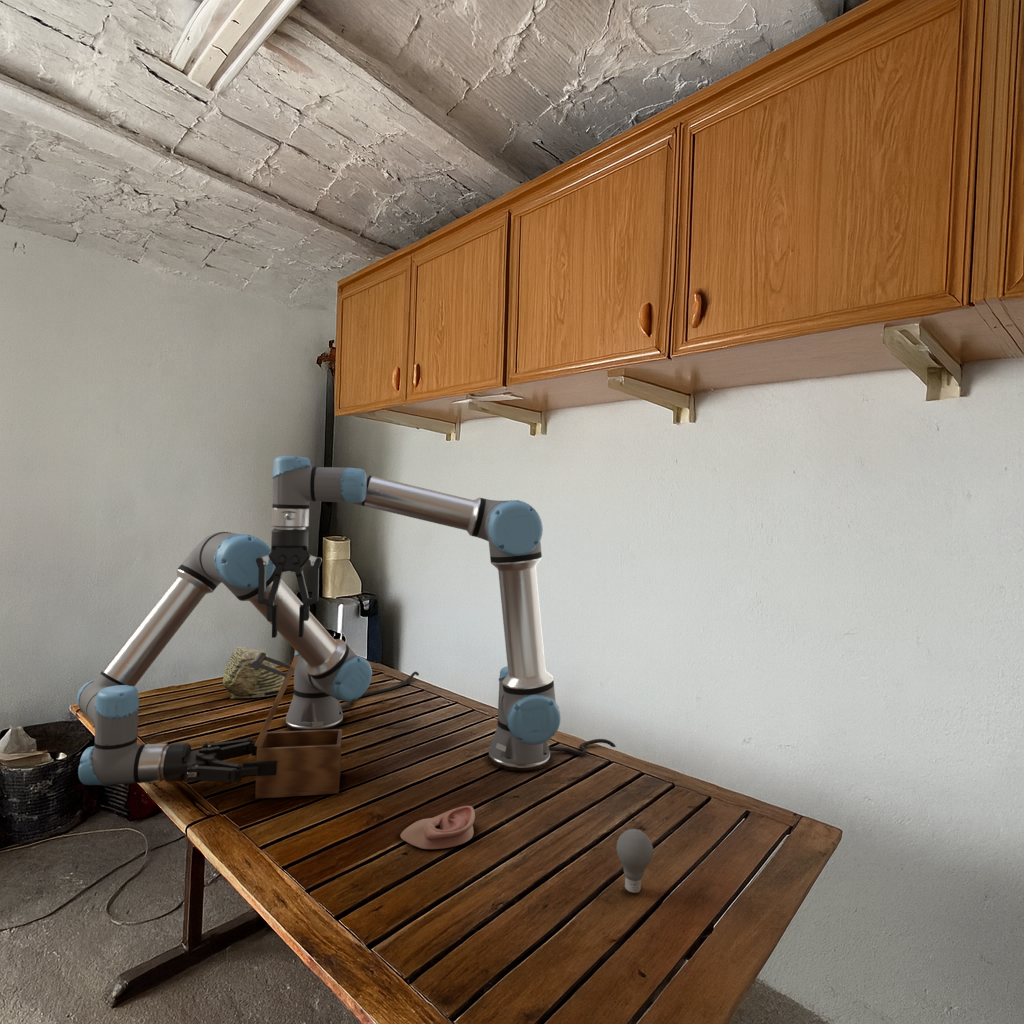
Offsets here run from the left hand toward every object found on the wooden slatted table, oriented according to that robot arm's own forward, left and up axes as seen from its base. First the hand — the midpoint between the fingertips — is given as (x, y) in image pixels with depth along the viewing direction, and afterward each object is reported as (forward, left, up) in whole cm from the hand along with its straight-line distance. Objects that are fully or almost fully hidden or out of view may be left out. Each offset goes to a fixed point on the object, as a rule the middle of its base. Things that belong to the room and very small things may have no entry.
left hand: (279, 757), depth 137 cm
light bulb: (-20, +75, -6) cm, 78 cm away
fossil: (-29, -61, -6) cm, 68 cm away
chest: (-3, +3, -6) cm, 8 cm away
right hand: (-1, +1, +27) cm, 27 cm away
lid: (0, 0, +12) cm, 12 cm away
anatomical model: (-10, +39, -6) cm, 41 cm away
